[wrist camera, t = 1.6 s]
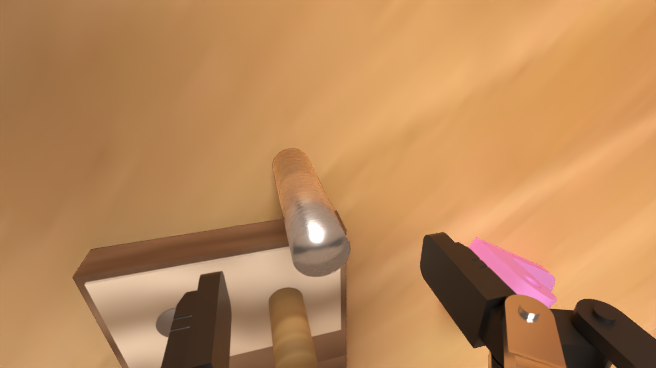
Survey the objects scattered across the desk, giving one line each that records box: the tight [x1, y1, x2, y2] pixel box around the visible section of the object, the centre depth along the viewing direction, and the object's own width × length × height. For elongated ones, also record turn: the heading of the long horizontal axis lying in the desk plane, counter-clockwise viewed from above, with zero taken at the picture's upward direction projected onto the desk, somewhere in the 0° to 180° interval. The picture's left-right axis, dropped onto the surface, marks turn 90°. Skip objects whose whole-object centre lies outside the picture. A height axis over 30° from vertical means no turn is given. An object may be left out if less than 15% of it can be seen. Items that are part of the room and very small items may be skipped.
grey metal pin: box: [273, 148, 350, 277], centre depth 16 cm, size 2×2×9 cm
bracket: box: [468, 237, 557, 308], centre depth 28 cm, size 13×6×7 cm, turn 59°
